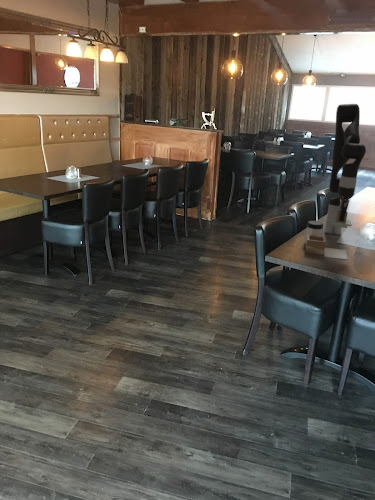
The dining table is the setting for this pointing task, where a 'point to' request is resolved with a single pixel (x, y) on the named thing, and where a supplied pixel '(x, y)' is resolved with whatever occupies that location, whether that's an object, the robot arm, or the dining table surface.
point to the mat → (335, 253)
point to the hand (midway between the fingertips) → (341, 219)
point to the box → (315, 245)
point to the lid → (340, 223)
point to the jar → (314, 229)
